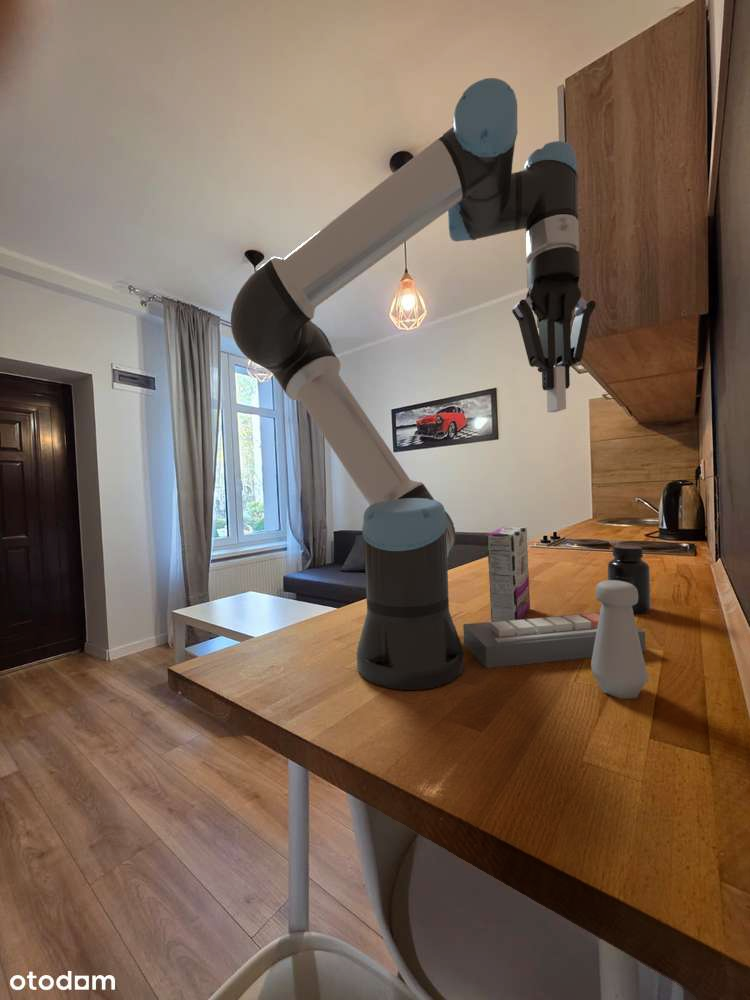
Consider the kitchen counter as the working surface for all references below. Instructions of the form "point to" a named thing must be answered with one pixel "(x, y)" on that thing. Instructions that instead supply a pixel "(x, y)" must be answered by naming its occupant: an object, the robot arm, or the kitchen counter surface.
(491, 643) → the gray button panel
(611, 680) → the salt shaker
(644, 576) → the supplement bottle
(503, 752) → the kitchen counter surface
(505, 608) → the candy bar box
